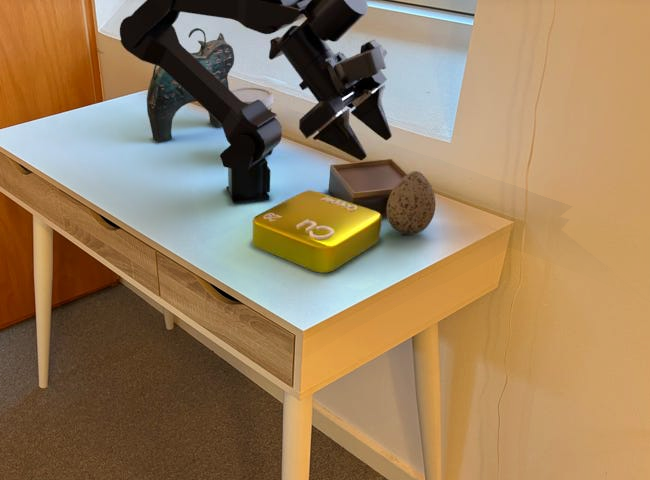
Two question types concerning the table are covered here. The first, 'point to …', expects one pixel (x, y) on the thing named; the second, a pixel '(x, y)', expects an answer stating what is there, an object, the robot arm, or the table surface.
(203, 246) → the table surface
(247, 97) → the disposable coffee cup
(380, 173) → the shallow square tray
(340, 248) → the element tile
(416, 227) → the decorative egg
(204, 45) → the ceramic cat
